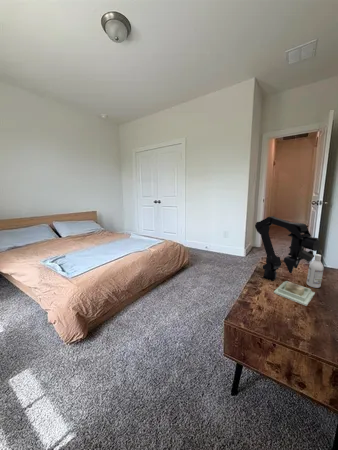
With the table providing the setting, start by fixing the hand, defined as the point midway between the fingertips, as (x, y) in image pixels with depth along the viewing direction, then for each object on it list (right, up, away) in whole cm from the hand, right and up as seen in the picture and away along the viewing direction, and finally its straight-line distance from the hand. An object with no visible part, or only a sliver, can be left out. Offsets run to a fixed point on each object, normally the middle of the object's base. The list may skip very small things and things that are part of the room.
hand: (293, 270), depth 111 cm
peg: (-1, -12, -2) cm, 12 cm away
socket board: (-1, -13, -2) cm, 13 cm away
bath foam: (+17, -11, +6) cm, 21 cm away
